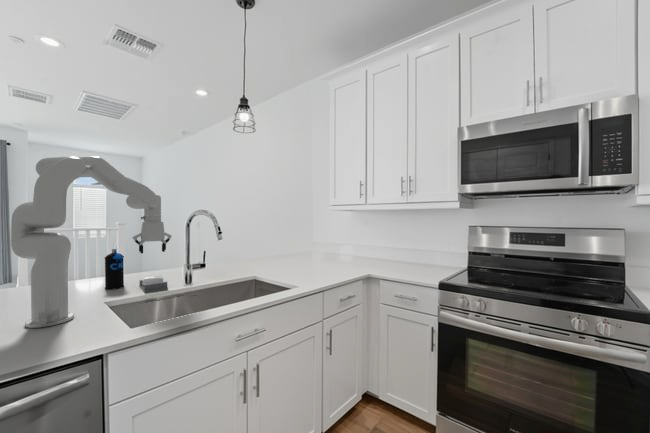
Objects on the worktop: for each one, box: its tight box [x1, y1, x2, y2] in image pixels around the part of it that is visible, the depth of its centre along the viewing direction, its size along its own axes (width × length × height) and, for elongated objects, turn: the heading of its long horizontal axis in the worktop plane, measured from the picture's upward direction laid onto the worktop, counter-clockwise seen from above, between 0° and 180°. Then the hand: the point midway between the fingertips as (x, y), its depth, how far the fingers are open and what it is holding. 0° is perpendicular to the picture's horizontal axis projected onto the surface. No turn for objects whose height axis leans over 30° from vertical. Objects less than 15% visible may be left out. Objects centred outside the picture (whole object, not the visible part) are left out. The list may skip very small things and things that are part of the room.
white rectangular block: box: [142, 275, 164, 285], centre depth 149 cm, size 5×9×3 cm, turn 120°
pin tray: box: [138, 279, 169, 294], centre depth 149 cm, size 16×10×4 cm, turn 40°
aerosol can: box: [104, 248, 125, 291], centre depth 150 cm, size 8×8×20 cm
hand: (152, 252), depth 149 cm, fingers open, 9 cm apart
